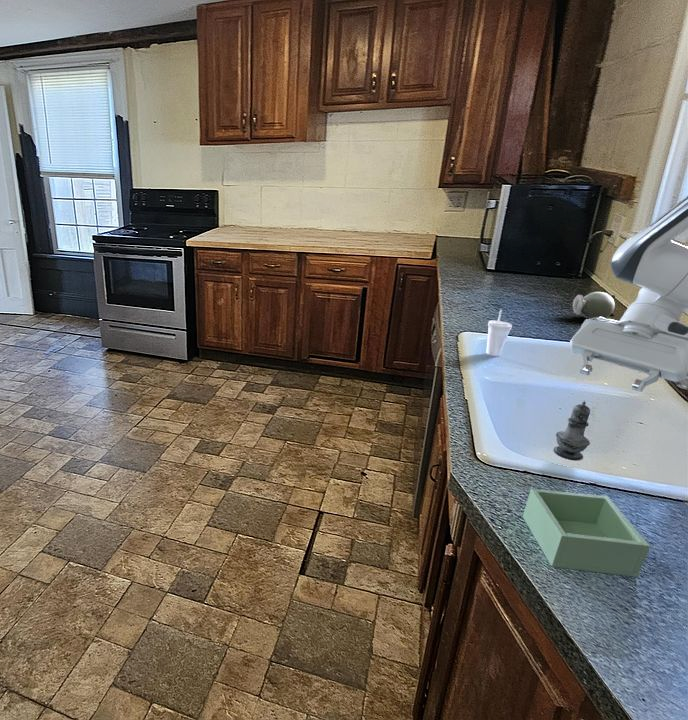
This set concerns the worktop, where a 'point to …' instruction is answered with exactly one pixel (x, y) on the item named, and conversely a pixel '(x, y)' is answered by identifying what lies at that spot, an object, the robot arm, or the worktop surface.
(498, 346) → the smoothie
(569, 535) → the bin
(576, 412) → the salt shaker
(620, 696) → the worktop surface
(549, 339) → the worktop surface
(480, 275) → the worktop surface
